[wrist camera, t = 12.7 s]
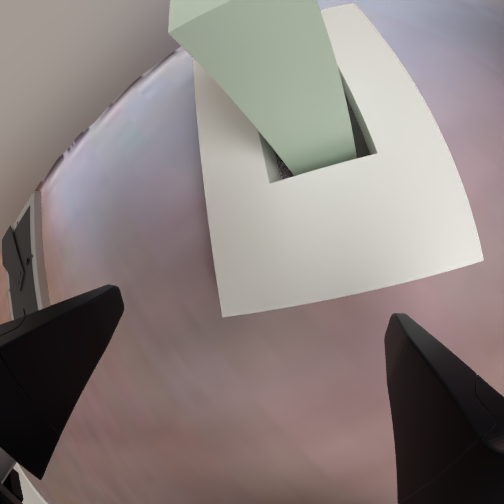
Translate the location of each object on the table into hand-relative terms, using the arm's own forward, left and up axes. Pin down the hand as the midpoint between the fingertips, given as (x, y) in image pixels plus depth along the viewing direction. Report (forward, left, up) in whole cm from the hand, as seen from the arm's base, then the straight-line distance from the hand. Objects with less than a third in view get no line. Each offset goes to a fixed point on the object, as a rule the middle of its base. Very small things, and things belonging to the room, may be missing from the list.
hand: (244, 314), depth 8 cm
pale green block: (+7, -7, -9) cm, 14 cm away
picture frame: (+26, +32, -10) cm, 43 cm away
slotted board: (+7, -7, -9) cm, 13 cm away
